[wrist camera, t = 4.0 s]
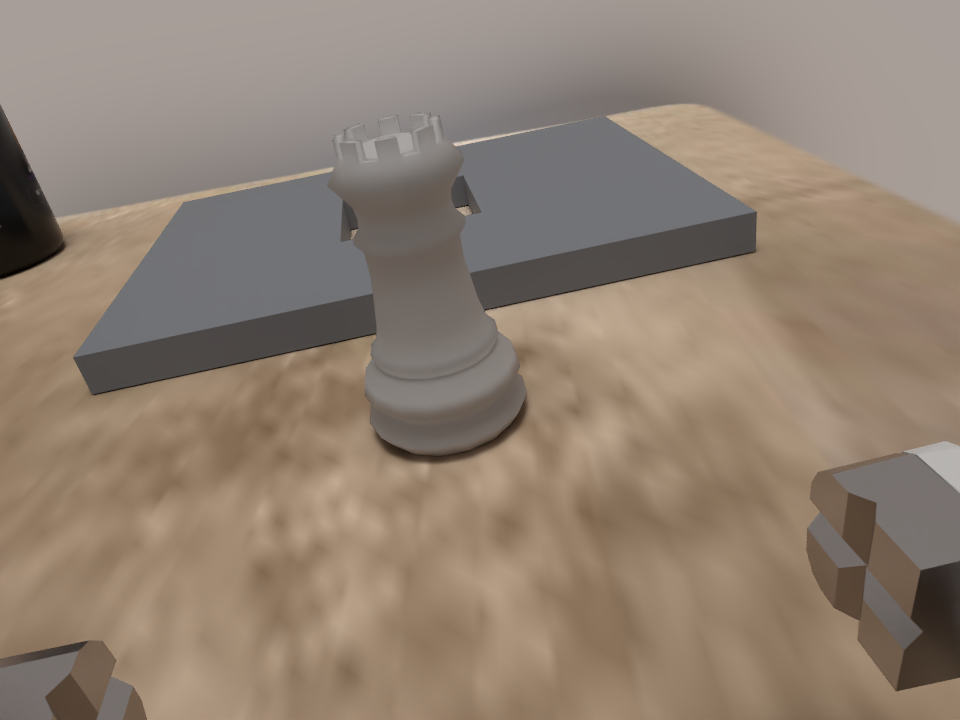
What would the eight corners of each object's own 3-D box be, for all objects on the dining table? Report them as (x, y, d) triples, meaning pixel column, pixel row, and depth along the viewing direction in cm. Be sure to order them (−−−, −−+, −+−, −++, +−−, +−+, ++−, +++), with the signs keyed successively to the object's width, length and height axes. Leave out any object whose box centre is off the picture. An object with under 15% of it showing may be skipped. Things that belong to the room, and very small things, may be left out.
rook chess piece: (464, 356, 23) (411, 98, 19) (562, 405, 20) (524, 107, 16) (344, 422, 21) (257, 146, 17) (433, 488, 18) (351, 167, 14)
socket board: (92, 394, 25) (73, 357, 24) (193, 228, 41) (183, 202, 40) (755, 251, 26) (756, 211, 25) (606, 142, 42) (604, 116, 41)
